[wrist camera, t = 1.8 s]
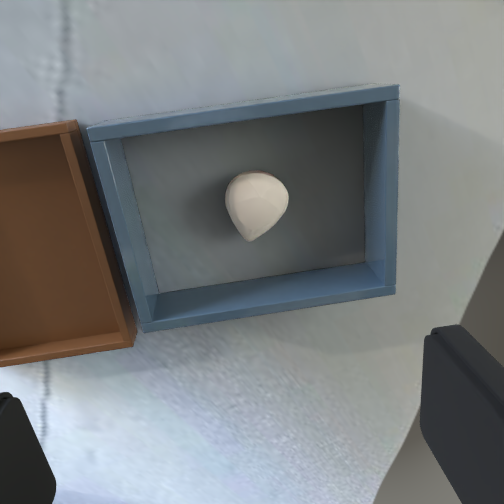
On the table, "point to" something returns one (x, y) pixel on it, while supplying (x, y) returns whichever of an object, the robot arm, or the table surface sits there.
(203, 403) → the table surface
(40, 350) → the tray
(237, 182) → the white teardrop piece
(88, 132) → the basin
